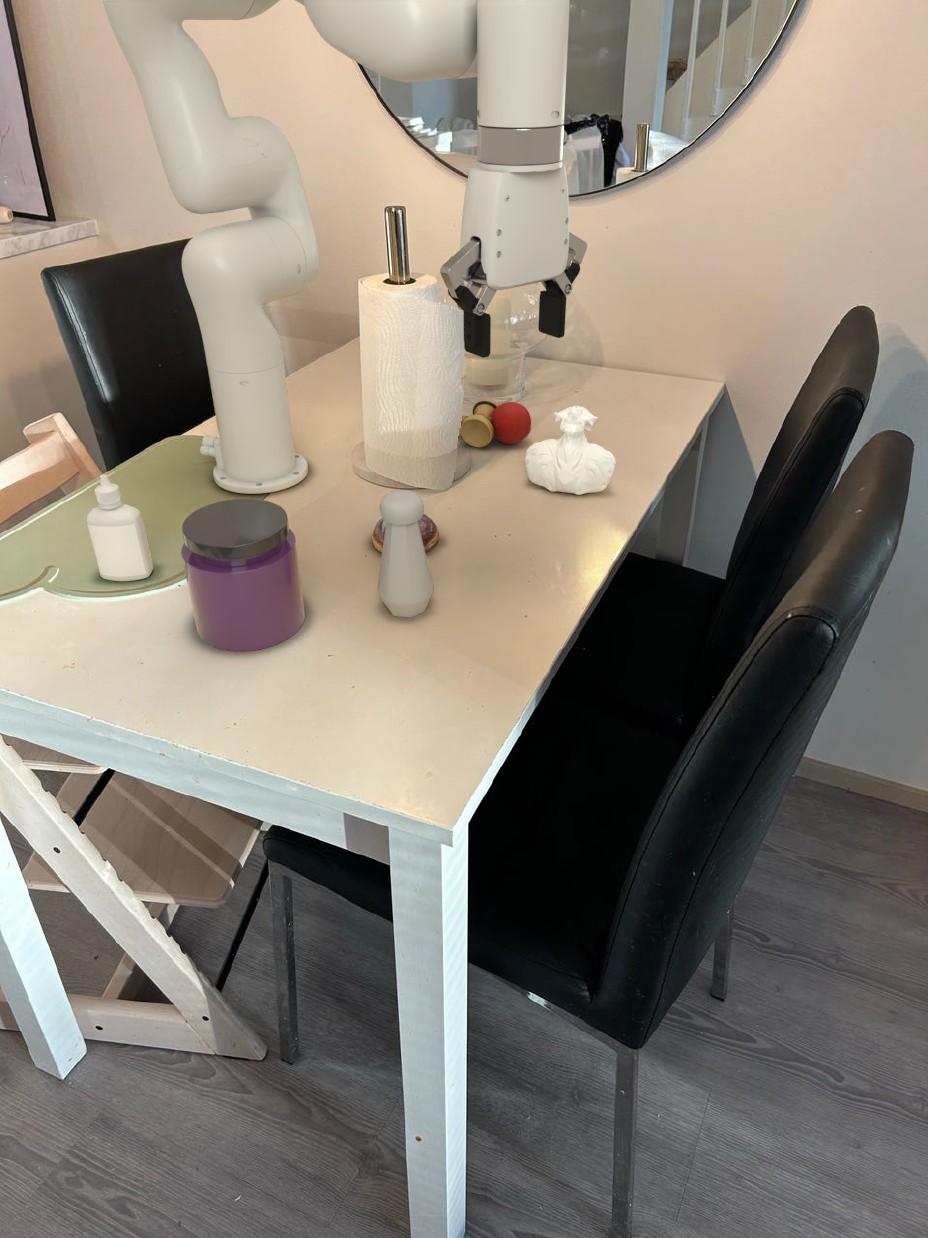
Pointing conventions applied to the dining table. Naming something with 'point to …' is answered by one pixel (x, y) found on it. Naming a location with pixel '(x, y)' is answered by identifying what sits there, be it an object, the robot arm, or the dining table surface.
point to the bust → (570, 457)
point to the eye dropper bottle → (118, 536)
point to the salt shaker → (403, 556)
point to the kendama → (495, 423)
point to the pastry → (426, 529)
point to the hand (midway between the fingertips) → (515, 343)
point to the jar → (242, 574)
